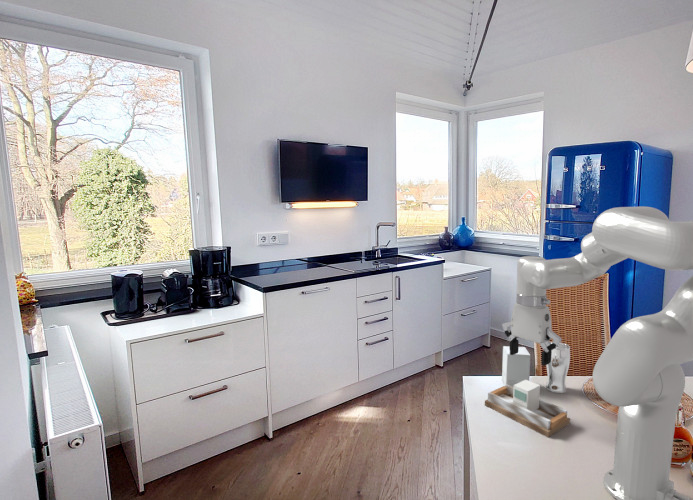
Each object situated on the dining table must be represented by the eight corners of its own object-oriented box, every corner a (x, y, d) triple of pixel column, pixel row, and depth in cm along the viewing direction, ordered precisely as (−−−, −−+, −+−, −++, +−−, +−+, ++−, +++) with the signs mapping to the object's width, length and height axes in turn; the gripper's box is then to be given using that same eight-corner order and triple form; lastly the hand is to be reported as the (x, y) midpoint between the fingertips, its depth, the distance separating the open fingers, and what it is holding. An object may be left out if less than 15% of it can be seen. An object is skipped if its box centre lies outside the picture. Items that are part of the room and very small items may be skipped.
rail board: (569, 423, 112) (570, 410, 112) (548, 437, 106) (548, 423, 106) (506, 394, 129) (507, 383, 128) (484, 405, 123) (485, 393, 122)
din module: (538, 407, 117) (540, 385, 116) (526, 414, 113) (527, 391, 112) (524, 401, 120) (525, 379, 120) (512, 407, 117) (513, 385, 116)
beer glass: (567, 396, 127) (570, 351, 125) (543, 391, 131) (545, 347, 129) (568, 386, 133) (570, 343, 131) (544, 382, 137) (547, 340, 135)
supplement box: (529, 392, 130) (531, 355, 128) (505, 390, 132) (506, 353, 130) (524, 381, 137) (525, 346, 135) (501, 380, 139) (502, 345, 137)
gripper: (569, 304, 107) (566, 365, 109) (511, 293, 122) (510, 347, 124) (553, 308, 103) (551, 372, 105) (496, 296, 118) (495, 353, 120)
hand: (529, 358), depth 114 cm, fingers open, 9 cm apart
